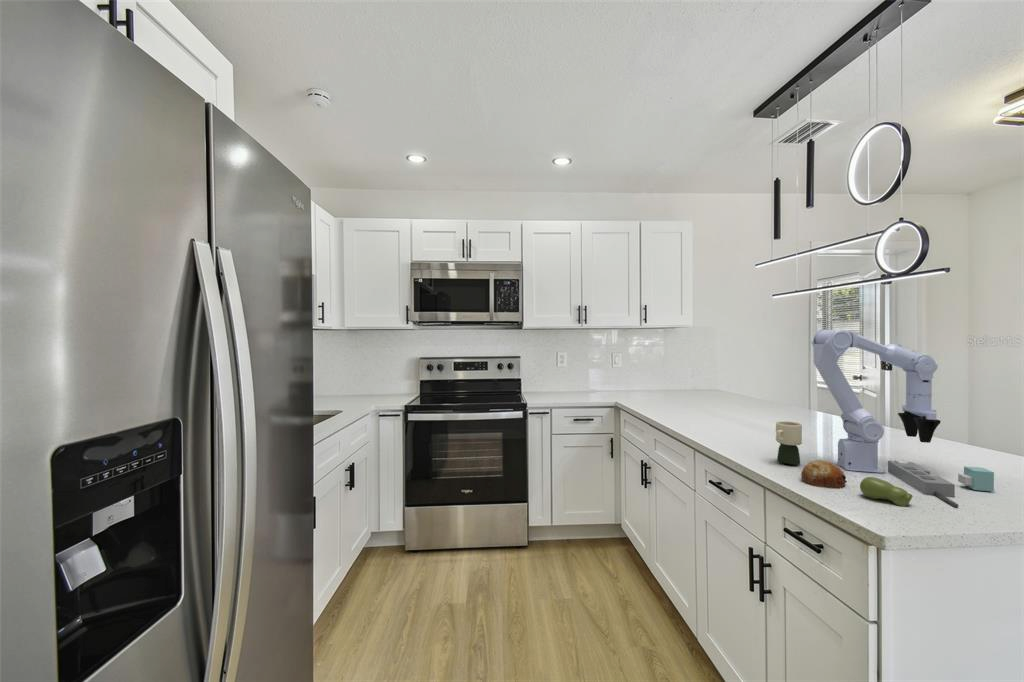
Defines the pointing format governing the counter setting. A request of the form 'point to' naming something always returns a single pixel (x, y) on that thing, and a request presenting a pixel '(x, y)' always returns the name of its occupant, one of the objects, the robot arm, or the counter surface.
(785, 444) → the character mug
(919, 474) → the power strip
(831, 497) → the counter surface
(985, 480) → the block
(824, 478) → the bread roll
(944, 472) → the counter surface
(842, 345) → the robot arm
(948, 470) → the counter surface
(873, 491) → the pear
